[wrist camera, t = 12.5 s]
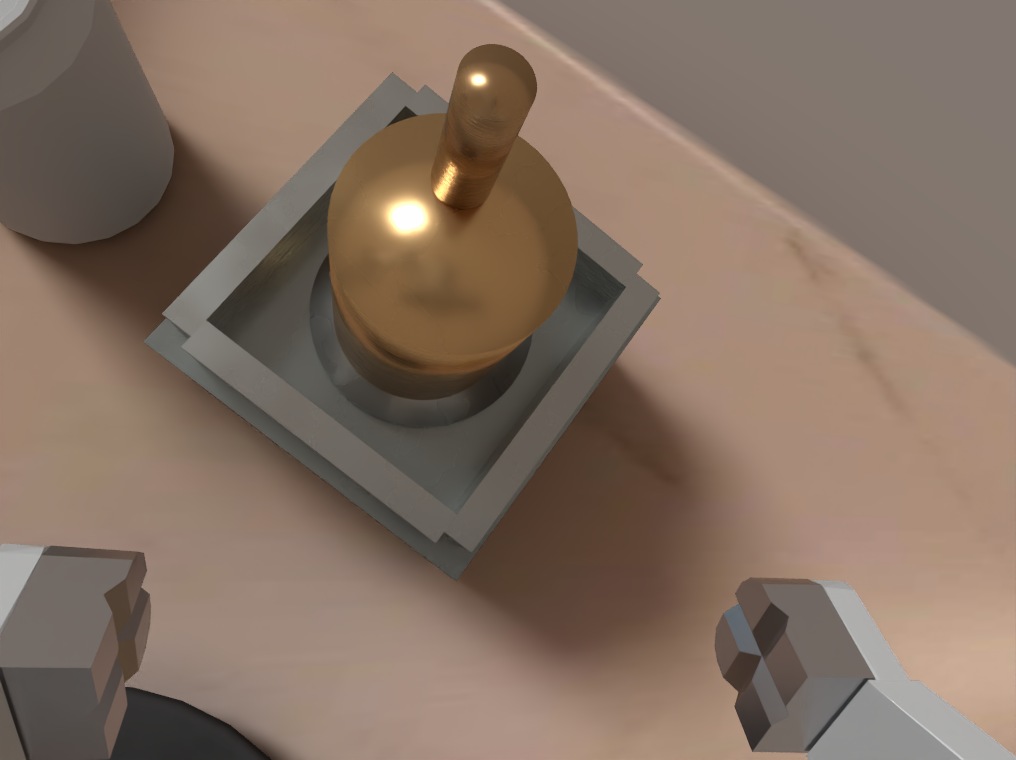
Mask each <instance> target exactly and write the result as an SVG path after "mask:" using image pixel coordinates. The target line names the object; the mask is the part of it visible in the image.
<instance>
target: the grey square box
mask: <svg viewBox="0 0 1016 760" xmlns="http://www.w3.org/2000/svg"><path fill="white" fill-rule="evenodd" d="M448 105H449V104H448V103H447V102H446V101H445V100H443V99H442V98H441V97H440V96H439V95H437V94H436V93H435V92H434V91H433V90H431V89H430V88H429V87H428V86H427V85H424V86H423V88H422V89H421V90H420V91H419V92H418V93H417V92H416V91H415V90H413V89H412V88H411V87H410V86H409V85H407V84H406V83H405V82H404V81H402V80H401V79H400V78H399V77H398V76H396V75H395V74H394V73H393V72H392V73H391V74H390V75H389V76H388V77H387V78H386V79H385V80H384V82H383V83H382V84H381V85H380V86H379V87H378V88H377V89H376V90H375V91H374V92H373V93H372V94H371V95H370V96H369V97H368V98H367V99H366V100H365V101H364V102H363V103H362V105H361V106H360V107H359V108H358V109H357V110H356V111H355V112H354V113H353V114H352V115H351V116H350V117H349V118H348V119H347V120H346V121H345V122H344V123H343V124H342V125H341V127H340V128H339V129H338V130H337V131H336V132H335V133H334V134H333V135H332V136H331V137H330V138H329V139H328V140H327V141H326V142H325V143H324V144H323V145H322V146H321V147H320V149H319V150H318V151H317V152H316V153H315V154H314V155H313V156H312V157H311V158H310V159H309V160H308V161H307V162H306V163H305V164H304V165H303V166H302V167H301V168H300V169H299V171H298V172H297V173H296V174H295V175H294V176H293V177H292V178H291V179H290V180H289V181H288V182H287V183H286V184H285V185H284V186H283V187H282V188H281V189H280V190H279V191H278V193H277V194H276V195H275V196H274V197H273V198H272V199H271V200H270V201H269V202H268V203H267V204H266V205H265V206H264V207H263V208H262V209H261V210H260V211H259V212H258V213H257V215H256V216H255V217H254V218H253V219H252V220H251V221H250V222H249V223H248V224H247V225H246V226H245V227H244V228H243V229H242V230H241V231H240V232H239V233H238V234H237V235H236V237H235V238H234V239H233V240H232V241H231V242H230V243H229V244H228V245H227V246H226V247H225V248H224V249H223V250H222V251H221V252H220V253H219V254H218V255H217V256H216V257H215V259H214V260H213V261H212V262H211V263H210V264H209V265H208V266H207V267H206V268H205V269H204V270H203V271H202V272H201V273H200V274H199V275H198V276H197V277H196V278H195V279H194V280H193V282H192V283H191V284H190V285H189V286H188V287H187V288H186V289H185V290H184V291H183V292H182V293H181V294H180V295H179V296H178V297H177V298H176V299H175V300H174V301H173V302H172V304H171V305H170V306H169V307H168V308H167V309H166V310H165V311H164V312H163V313H162V314H163V315H164V316H165V317H166V318H165V320H164V321H163V322H162V323H161V324H160V325H159V326H158V327H157V328H156V329H155V330H154V331H153V332H152V333H151V334H150V335H149V336H148V337H147V338H146V339H145V341H144V342H145V343H146V344H147V345H148V346H150V347H151V348H152V349H154V350H155V351H156V352H158V353H159V354H160V355H161V356H163V357H164V358H165V359H167V360H168V361H169V362H171V363H172V364H173V365H174V366H176V367H177V368H178V369H180V370H181V371H182V372H184V373H185V374H186V375H187V376H189V377H190V378H191V379H193V380H194V381H195V382H197V383H198V384H199V385H200V386H202V387H203V388H204V389H206V390H207V391H208V392H210V393H211V394H212V395H214V396H215V397H216V398H217V399H219V400H220V401H221V402H223V403H224V404H225V405H227V406H228V407H229V408H231V409H232V410H233V411H234V412H236V413H237V414H238V415H240V416H241V417H242V418H244V419H245V420H246V421H247V422H249V423H250V424H251V425H253V426H254V427H255V428H257V429H258V430H259V431H261V432H262V433H263V434H264V435H266V436H267V437H268V438H270V439H271V440H272V441H274V442H275V443H276V444H277V445H279V446H280V447H281V448H283V449H284V450H285V451H287V452H288V453H289V454H291V455H292V456H293V457H294V458H296V459H297V460H298V461H300V462H301V463H302V464H304V465H305V466H306V467H307V468H309V469H310V470H311V471H313V472H314V473H315V474H317V475H318V476H319V477H321V478H322V479H323V480H324V481H326V482H327V483H328V484H330V485H331V486H332V487H334V488H335V489H336V490H337V491H339V492H340V493H341V494H343V495H344V496H345V497H347V498H348V499H349V500H351V501H352V502H353V503H354V504H356V505H357V506H358V507H360V508H361V509H362V510H364V511H365V512H366V513H367V514H369V515H370V516H371V517H373V518H374V519H375V520H377V521H378V522H379V523H381V524H382V525H383V526H384V527H386V528H387V529H388V530H390V531H391V532H392V533H394V534H395V535H396V536H397V537H399V538H400V539H401V540H403V541H404V542H405V543H407V544H408V545H409V546H411V547H412V548H413V549H414V550H416V551H417V552H418V553H420V554H421V555H422V556H424V557H425V558H426V559H427V560H429V561H430V562H431V563H433V564H434V565H435V566H437V567H438V568H439V569H441V570H442V571H443V572H444V573H446V574H447V575H448V576H450V577H451V578H452V579H454V580H455V581H457V579H458V578H459V577H460V575H461V574H462V573H463V571H464V570H465V568H466V567H467V566H468V564H469V563H470V562H471V560H472V559H473V557H474V556H475V555H476V553H477V552H478V550H479V549H480V548H481V546H482V545H483V544H484V542H485V541H486V539H487V538H488V537H489V535H490V534H491V532H492V531H493V530H494V528H495V527H496V526H497V524H498V523H499V521H500V520H501V519H502V517H503V516H504V515H505V513H506V512H507V510H508V509H509V508H510V506H511V505H512V503H513V502H514V501H515V499H516V498H517V497H518V495H519V494H520V492H521V491H522V490H523V488H524V487H525V485H526V484H527V483H528V481H529V480H530V479H531V477H532V476H533V474H534V473H535V472H536V470H537V469H538V468H539V466H540V465H541V463H542V462H543V461H544V459H545V458H546V456H547V455H548V454H549V452H550V451H551V450H552V448H553V447H554V445H555V444H556V443H557V441H558V440H559V438H560V437H561V436H562V434H563V433H564V432H565V430H566V429H567V427H568V426H569V425H570V423H571V422H572V421H573V419H574V418H575V416H576V415H577V414H578V412H579V411H580V409H581V408H582V407H583V405H584V404H585V403H586V401H587V400H588V398H589V397H590V396H591V394H592V393H593V391H594V390H595V389H596V387H597V386H598V385H599V383H600V382H601V380H602V379H603V378H604V376H605V375H606V374H607V372H608V371H609V369H610V368H611V367H612V365H613V364H614V362H615V361H616V360H617V358H618V357H619V356H620V354H621V353H622V351H623V350H624V349H625V347H626V346H627V344H628V343H629V342H630V340H631V339H632V338H633V336H634V335H635V333H636V332H637V331H638V329H639V328H640V327H641V325H642V324H643V322H644V321H645V320H646V318H647V317H648V315H649V314H650V313H651V311H652V310H653V309H654V307H655V306H656V304H657V303H658V302H659V300H660V299H661V298H660V297H658V295H659V294H660V293H659V292H658V291H657V290H656V289H655V288H653V287H652V286H651V285H650V284H648V283H647V282H646V281H645V280H644V279H642V278H641V277H640V276H639V275H638V274H636V273H637V272H638V271H639V269H640V268H641V267H642V265H643V264H642V263H641V262H639V261H638V260H637V259H636V258H635V257H633V256H632V255H631V254H630V253H628V252H627V251H626V250H625V249H624V248H622V247H621V246H620V245H619V244H618V243H616V242H615V241H614V240H613V239H612V238H610V237H609V236H608V235H607V234H606V233H604V232H603V231H602V230H601V229H599V228H598V227H597V226H596V225H595V224H593V223H592V222H591V221H590V220H589V219H587V218H586V217H585V216H584V215H583V214H581V213H580V212H579V211H578V210H576V209H575V208H574V207H573V206H572V208H573V211H574V215H575V219H576V226H577V233H578V251H577V259H576V265H575V269H574V273H573V277H572V280H571V282H570V285H569V287H568V290H567V292H566V294H565V295H564V297H563V299H562V301H561V302H560V304H559V306H558V307H557V308H556V309H555V311H554V312H553V313H552V314H551V316H550V317H549V318H548V319H547V320H546V321H545V322H544V323H543V324H542V325H541V326H540V327H539V328H538V329H536V330H535V331H534V332H533V333H532V334H531V335H530V336H529V337H527V338H526V339H525V340H524V341H523V342H522V343H521V344H519V345H518V346H517V347H516V348H515V349H514V350H513V351H512V352H510V353H509V354H508V355H507V356H506V357H505V358H504V359H503V360H501V361H500V362H499V363H498V364H497V365H496V366H495V367H494V368H492V369H491V370H490V371H489V372H488V373H487V374H486V375H485V376H483V377H482V378H481V379H480V380H479V381H478V382H476V383H475V384H473V385H472V386H471V387H469V388H467V389H466V390H464V391H462V392H460V393H457V394H455V395H452V396H449V397H445V398H441V399H435V400H412V399H406V398H401V397H398V396H394V395H391V394H389V393H387V392H385V391H382V390H380V389H379V388H377V387H375V386H374V385H372V384H371V383H369V382H368V381H367V380H366V379H364V378H363V377H362V376H361V375H360V374H359V373H358V372H357V371H356V370H355V369H354V368H353V366H352V365H351V364H350V362H349V361H348V360H347V358H346V356H345V355H344V353H343V351H342V349H341V347H340V344H339V342H338V339H337V336H336V332H335V328H334V319H333V307H332V292H331V277H330V262H329V247H328V232H327V223H328V209H329V204H330V199H331V195H332V192H333V189H334V186H335V183H336V181H337V179H338V177H339V175H340V173H341V171H342V169H343V167H344V166H345V164H346V163H347V162H348V160H349V159H350V157H351V156H352V155H353V153H354V152H355V151H356V150H357V149H358V148H359V147H360V146H361V145H362V144H363V143H364V142H366V141H367V140H368V139H369V138H371V137H372V136H373V135H374V134H376V133H377V132H379V131H381V130H383V129H384V128H386V127H388V126H389V125H392V124H394V123H397V122H399V121H402V120H404V119H408V118H411V117H415V116H419V115H426V114H434V113H447V109H448Z"/></svg>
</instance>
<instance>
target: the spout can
mask: <svg viewBox="0 0 1016 760" xmlns="http://www.w3.org/2000/svg"><path fill="white" fill-rule="evenodd" d="M536 92H537V82H536V77H535V74H534V71H533V69H532V67H531V66H530V64H529V63H528V62H527V60H526V59H525V58H524V57H523V56H522V55H520V54H519V53H518V52H516V51H515V50H513V49H511V48H508V47H506V46H502V45H497V44H487V45H482V46H479V47H476V48H474V49H472V50H471V51H470V52H468V53H467V54H466V55H465V56H464V58H463V59H462V60H461V62H460V64H459V68H458V71H457V75H456V79H455V82H454V86H453V90H452V94H451V98H450V102H449V105H448V109H447V113H434V114H426V115H419V116H415V117H411V118H408V119H404V120H402V121H399V122H397V123H394V124H392V125H389V126H388V127H386V128H384V129H383V130H381V131H379V132H377V133H376V134H374V135H373V136H372V137H371V138H369V139H368V140H367V141H366V142H364V143H363V144H362V145H361V146H360V147H359V148H358V149H357V150H356V151H355V152H354V153H353V155H352V156H351V157H350V159H349V160H348V162H347V163H346V164H345V166H344V167H343V169H342V171H341V173H340V175H339V177H338V179H337V181H336V183H335V186H334V189H333V192H332V195H331V199H330V204H329V209H328V223H327V232H328V247H329V262H330V277H331V292H332V307H333V319H334V328H335V332H336V336H337V339H338V342H339V344H340V347H341V349H342V351H343V353H344V355H345V356H346V358H347V360H348V361H349V362H350V364H351V365H352V366H353V368H354V369H355V370H356V371H357V372H358V373H359V374H360V375H361V376H362V377H363V378H364V379H366V380H367V381H368V382H369V383H371V384H372V385H374V386H375V387H377V388H379V389H380V390H382V391H385V392H387V393H389V394H391V395H394V396H398V397H401V398H406V399H412V400H435V399H441V398H445V397H449V396H452V395H455V394H457V393H460V392H462V391H464V390H466V389H467V388H469V387H471V386H472V385H473V384H475V383H476V382H478V381H479V380H480V379H481V378H482V377H483V376H485V375H486V374H487V373H488V372H489V371H490V370H491V369H492V368H494V367H495V366H496V365H497V364H498V363H499V362H500V361H501V360H503V359H504V358H505V357H506V356H507V355H508V354H509V353H510V352H512V351H513V350H514V349H515V348H516V347H517V346H518V345H519V344H521V343H522V342H523V341H524V340H525V339H526V338H527V337H529V336H530V335H531V334H532V333H533V332H534V331H535V330H536V329H538V328H539V327H540V326H541V325H542V324H543V323H544V322H545V321H546V320H547V319H548V318H549V317H550V316H551V314H552V313H553V312H554V311H555V309H556V308H557V307H558V306H559V304H560V302H561V301H562V299H563V297H564V295H565V294H566V292H567V290H568V287H569V285H570V282H571V280H572V277H573V273H574V269H575V265H576V259H577V251H578V233H577V226H576V219H575V215H574V211H573V208H572V204H571V201H570V199H569V197H568V194H567V192H566V189H565V187H564V186H563V184H562V182H561V180H560V179H559V177H558V175H557V174H556V172H555V171H554V170H553V168H552V167H551V166H550V164H549V163H548V162H547V161H546V160H545V158H544V157H543V156H542V155H541V154H540V153H539V152H538V151H537V150H536V149H535V148H533V147H532V146H531V145H530V144H529V143H527V142H526V141H525V140H524V139H522V138H521V137H519V136H518V133H519V131H520V129H521V127H522V125H523V123H524V121H525V119H526V117H527V114H528V112H529V110H530V108H531V106H532V104H533V102H534V100H535V97H536Z"/></svg>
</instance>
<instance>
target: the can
mask: <svg viewBox="0 0 1016 760" xmlns="http://www.w3.org/2000/svg"><path fill="white" fill-rule="evenodd" d="M173 158H174V145H173V142H172V138H171V134H170V130H169V126H168V122H167V120H166V118H165V116H164V114H163V112H162V110H161V108H160V105H159V103H158V101H157V99H156V97H155V95H154V93H153V91H152V89H151V87H150V84H149V82H148V80H147V78H146V76H145V74H144V72H143V70H142V68H141V66H140V64H139V61H138V59H137V57H136V55H135V53H134V51H133V49H132V47H131V45H130V43H129V41H128V38H127V36H126V34H125V32H124V30H123V28H122V26H121V24H120V22H119V20H118V18H117V15H116V13H115V11H114V9H113V7H112V5H111V3H110V1H109V0H0V222H1V223H3V224H4V225H5V226H7V227H8V228H9V229H11V230H13V231H16V232H19V233H21V234H24V235H27V236H29V237H32V238H35V239H37V240H40V241H44V242H56V243H68V244H80V243H85V242H90V241H96V240H101V239H106V238H110V237H112V236H114V235H116V234H118V233H120V232H122V231H124V230H126V229H128V228H130V227H131V226H133V225H135V224H137V223H138V222H139V221H141V220H142V219H143V218H144V217H145V216H146V215H147V214H148V213H149V212H150V211H151V210H152V209H153V208H154V207H155V206H156V205H157V204H158V203H159V201H160V199H161V197H162V195H163V193H164V191H165V189H166V187H167V185H168V183H169V181H170V179H171V177H172V168H173Z"/></svg>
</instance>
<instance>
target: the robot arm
mask: <svg viewBox="0 0 1016 760" xmlns="http://www.w3.org/2000/svg"><path fill="white" fill-rule="evenodd" d="M146 572H147V568H146V562H145V556H144V553H142V552H135V551H120V550H105V549H91V548H76V547H61V546H42V545H24V544H6V543H3V544H2V545H1V546H0V760H100V759H110V756H111V753H112V750H113V747H114V744H115V741H116V738H117V735H118V732H119V729H120V726H121V723H122V720H123V717H124V714H125V711H126V708H127V705H128V704H127V697H126V690H125V684H124V683H125V682H126V681H127V680H128V679H129V678H131V677H132V676H133V675H134V674H135V673H136V672H137V671H139V668H140V665H141V662H142V658H143V655H144V652H145V649H146V644H147V638H148V633H149V628H150V617H151V603H150V594H149V593H148V592H146V591H145V590H144V589H143V588H142V587H141V586H142V583H143V580H144V578H145V575H146ZM735 594H736V597H737V600H738V602H739V604H737V605H736V606H734V607H732V608H731V609H729V610H728V611H726V612H725V613H724V614H723V615H722V617H721V619H720V621H719V623H718V625H717V627H716V636H715V651H716V657H717V662H718V665H719V667H720V670H721V673H722V675H723V678H724V679H725V680H726V681H728V682H729V683H730V684H731V685H732V686H733V687H734V688H735V689H736V690H737V691H738V696H737V699H736V703H735V709H736V712H737V714H738V717H739V719H740V722H741V724H742V727H743V729H744V732H745V734H746V737H747V740H748V742H749V745H750V747H751V750H752V752H793V753H808V754H807V755H806V757H807V758H808V759H809V760H1016V756H1014V755H1013V754H1012V753H1011V752H1009V751H1008V750H1007V749H1006V748H1004V747H1003V746H1002V745H1000V744H999V743H998V742H997V741H995V740H994V739H993V738H992V737H990V736H989V735H988V734H987V733H985V732H984V731H983V730H981V729H980V728H979V727H978V726H976V725H975V724H974V723H973V722H971V721H970V720H969V719H967V718H966V717H965V716H964V715H962V714H961V713H960V712H959V711H957V710H956V709H955V708H954V707H952V706H951V705H950V704H948V703H947V702H946V701H945V700H943V699H942V698H941V697H940V696H938V695H937V694H936V693H934V692H933V691H932V690H931V689H929V688H928V687H927V686H926V685H924V684H923V683H922V682H920V681H914V680H910V679H909V677H908V676H907V674H906V673H905V671H904V669H903V668H902V666H901V664H900V663H899V661H898V660H897V658H896V656H895V655H894V653H893V651H892V650H891V648H890V647H889V645H888V643H887V642H886V640H885V638H884V637H883V635H882V634H881V632H880V630H879V629H878V627H877V626H876V624H875V622H874V621H873V619H872V617H871V616H870V614H869V613H868V611H867V609H866V608H865V606H864V604H863V603H862V601H861V600H860V598H859V596H858V595H857V593H856V591H855V590H854V589H853V588H852V587H851V586H850V585H849V584H847V583H846V582H845V581H825V580H808V579H786V578H752V577H750V578H749V579H747V580H745V581H743V582H742V583H741V585H740V586H739V588H738V590H737V591H736V593H735Z"/></svg>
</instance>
